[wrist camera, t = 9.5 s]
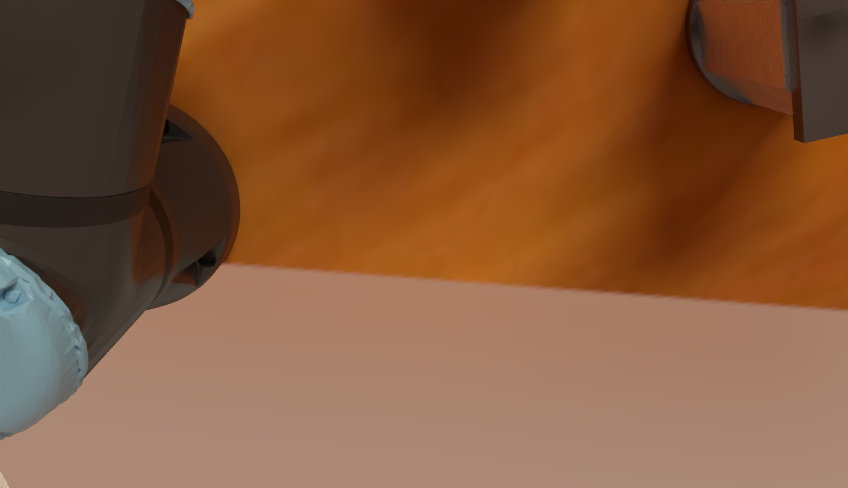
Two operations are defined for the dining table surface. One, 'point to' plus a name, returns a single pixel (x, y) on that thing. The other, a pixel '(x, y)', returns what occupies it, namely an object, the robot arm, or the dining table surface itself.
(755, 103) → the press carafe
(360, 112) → the dining table surface
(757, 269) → the dining table surface
